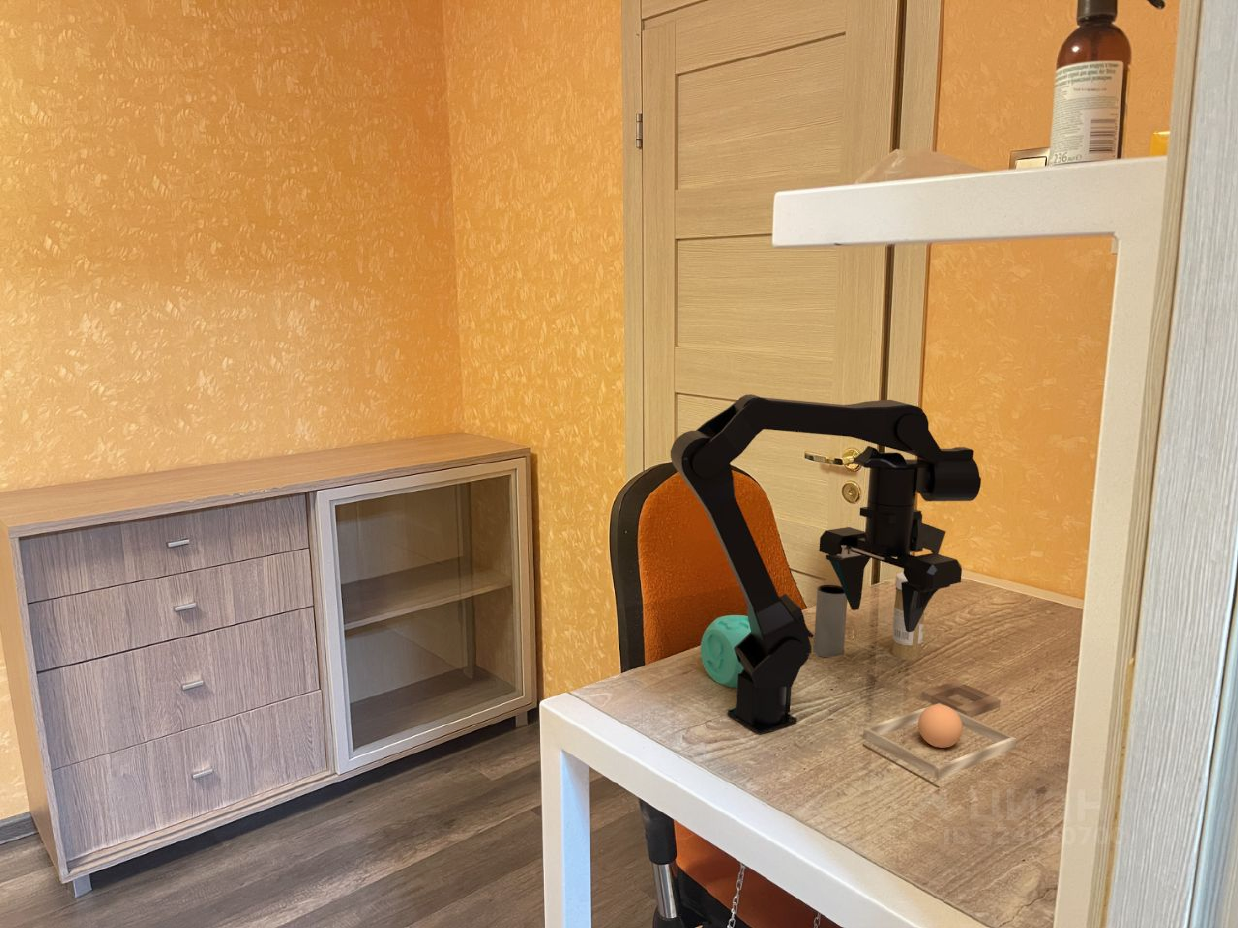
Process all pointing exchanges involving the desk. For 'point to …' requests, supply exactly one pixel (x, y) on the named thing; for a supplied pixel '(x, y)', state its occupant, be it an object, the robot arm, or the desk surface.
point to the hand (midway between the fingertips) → (881, 619)
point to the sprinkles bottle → (903, 641)
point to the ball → (940, 726)
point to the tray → (930, 768)
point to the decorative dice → (724, 648)
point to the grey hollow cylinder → (830, 621)
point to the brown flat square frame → (980, 699)
